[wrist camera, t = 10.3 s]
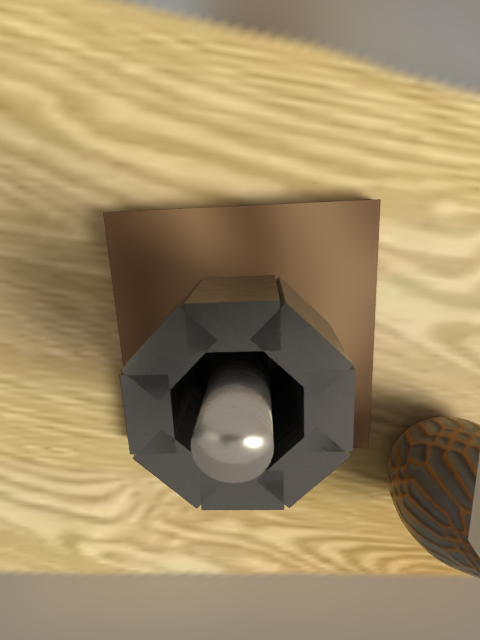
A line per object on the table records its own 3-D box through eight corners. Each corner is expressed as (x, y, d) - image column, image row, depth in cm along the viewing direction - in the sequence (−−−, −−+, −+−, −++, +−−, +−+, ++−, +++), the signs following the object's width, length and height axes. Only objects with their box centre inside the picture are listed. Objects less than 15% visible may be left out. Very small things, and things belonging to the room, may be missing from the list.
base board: (140, 439, 26) (134, 450, 25) (111, 212, 22) (103, 212, 21) (363, 436, 25) (368, 447, 24) (373, 199, 21) (380, 199, 20)
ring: (167, 437, 20) (137, 510, 15) (149, 279, 18) (109, 305, 13) (328, 435, 20) (350, 509, 15) (331, 272, 18) (358, 297, 13)
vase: (360, 418, 25) (413, 530, 16) (475, 383, 24) (595, 482, 15) (391, 508, 26) (453, 651, 18) (499, 479, 25) (619, 616, 17)
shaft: (194, 389, 23) (144, 529, 13) (186, 286, 22) (122, 356, 12) (300, 386, 23) (331, 529, 13) (299, 282, 21) (334, 351, 11)
